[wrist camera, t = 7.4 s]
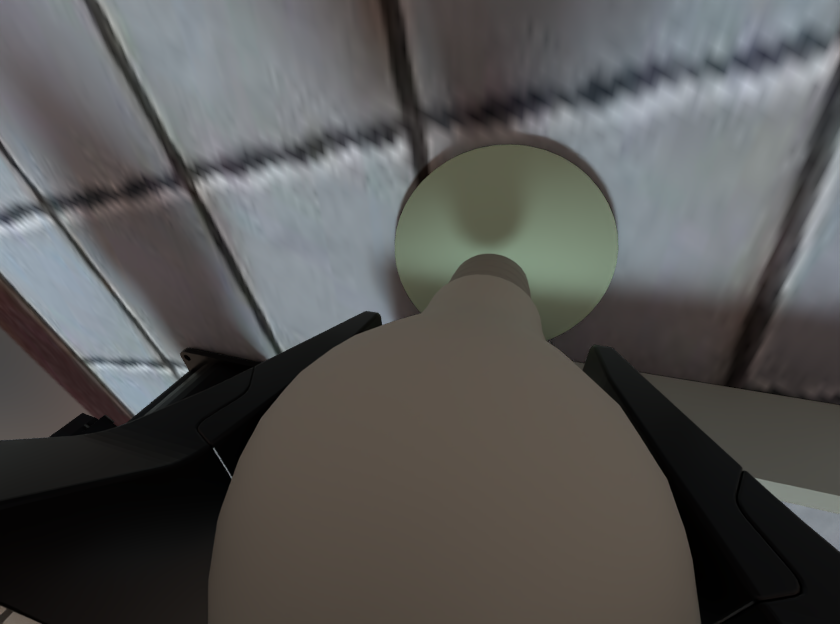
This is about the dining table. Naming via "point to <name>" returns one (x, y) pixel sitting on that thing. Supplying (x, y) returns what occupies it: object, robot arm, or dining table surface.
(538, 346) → the lightbulb
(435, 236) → the pad
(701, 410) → the grey-green flat bar
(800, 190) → the dining table surface
